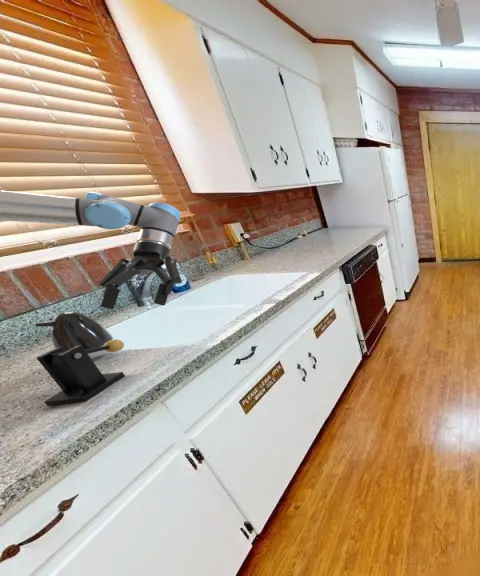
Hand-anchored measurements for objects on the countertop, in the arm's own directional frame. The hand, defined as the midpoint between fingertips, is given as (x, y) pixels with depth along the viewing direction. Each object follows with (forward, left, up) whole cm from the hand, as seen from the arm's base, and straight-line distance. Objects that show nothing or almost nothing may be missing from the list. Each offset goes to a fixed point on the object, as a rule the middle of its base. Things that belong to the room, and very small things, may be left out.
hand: (133, 306), depth 91 cm
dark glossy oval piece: (-15, -2, -15) cm, 22 cm away
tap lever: (0, -16, -8) cm, 17 cm away
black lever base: (0, -20, -15) cm, 25 cm away
